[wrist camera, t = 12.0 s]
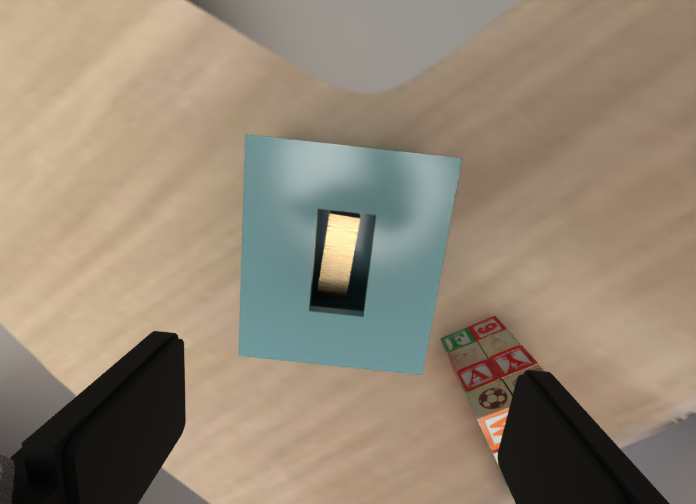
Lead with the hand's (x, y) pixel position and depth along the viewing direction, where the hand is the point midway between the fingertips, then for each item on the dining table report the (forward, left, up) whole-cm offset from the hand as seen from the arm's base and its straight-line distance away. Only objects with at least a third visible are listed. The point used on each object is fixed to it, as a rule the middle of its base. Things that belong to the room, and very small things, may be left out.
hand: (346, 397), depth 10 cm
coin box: (+1, +1, -25) cm, 25 cm away
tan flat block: (+1, +5, -22) cm, 23 cm away
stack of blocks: (-19, +18, -26) cm, 36 cm away
